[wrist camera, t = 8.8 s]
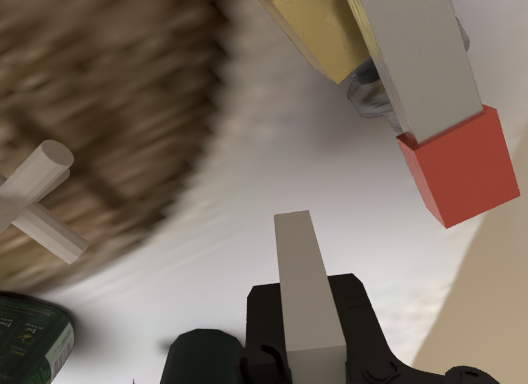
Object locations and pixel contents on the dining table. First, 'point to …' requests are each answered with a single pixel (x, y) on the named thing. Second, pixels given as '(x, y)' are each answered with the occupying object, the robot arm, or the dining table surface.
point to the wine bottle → (202, 358)
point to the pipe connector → (34, 189)
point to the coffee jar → (32, 341)
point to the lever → (438, 107)
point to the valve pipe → (338, 49)
